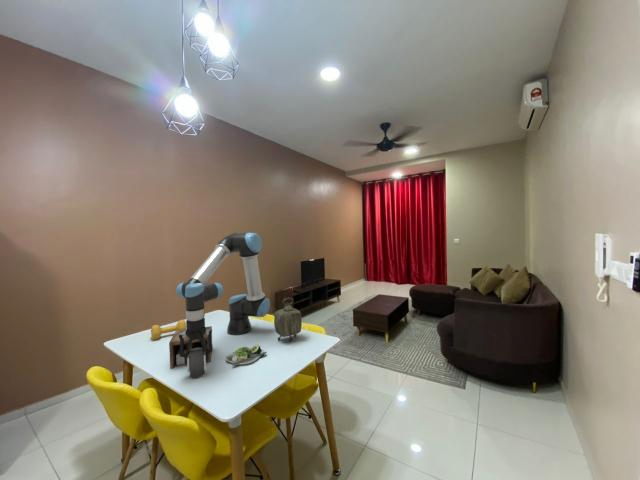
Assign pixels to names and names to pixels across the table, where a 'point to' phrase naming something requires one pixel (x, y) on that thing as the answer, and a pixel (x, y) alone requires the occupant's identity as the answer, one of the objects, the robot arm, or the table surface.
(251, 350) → the avocado toast plate
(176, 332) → the lane shelf
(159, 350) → the table surface
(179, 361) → the grey lane block
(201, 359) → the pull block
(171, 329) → the dumbbell
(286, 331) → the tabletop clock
